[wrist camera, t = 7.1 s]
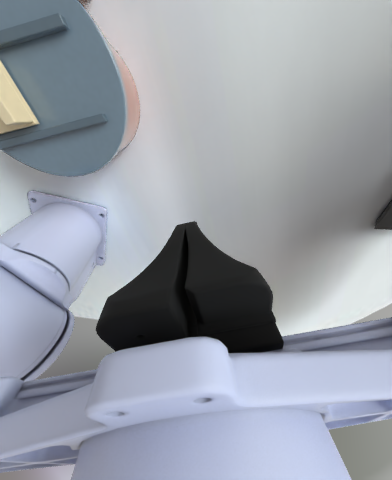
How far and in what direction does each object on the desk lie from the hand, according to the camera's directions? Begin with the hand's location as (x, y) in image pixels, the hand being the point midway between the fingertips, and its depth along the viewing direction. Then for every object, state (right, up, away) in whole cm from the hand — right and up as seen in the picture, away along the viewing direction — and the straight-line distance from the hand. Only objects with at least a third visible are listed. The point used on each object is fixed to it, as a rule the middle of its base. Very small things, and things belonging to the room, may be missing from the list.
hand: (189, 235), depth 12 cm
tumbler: (-9, +12, +3) cm, 15 cm away
